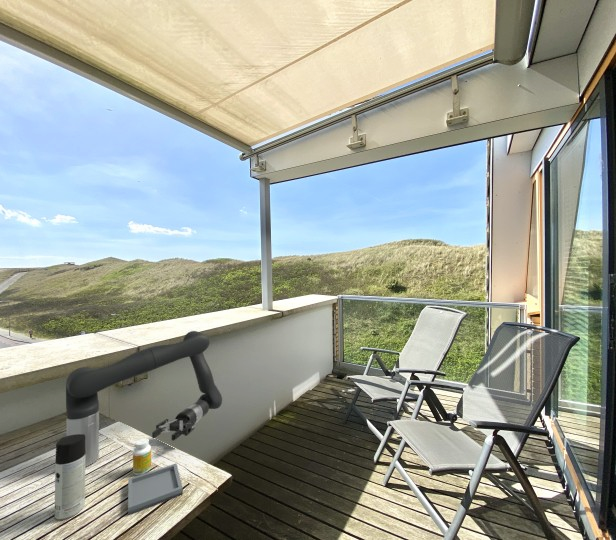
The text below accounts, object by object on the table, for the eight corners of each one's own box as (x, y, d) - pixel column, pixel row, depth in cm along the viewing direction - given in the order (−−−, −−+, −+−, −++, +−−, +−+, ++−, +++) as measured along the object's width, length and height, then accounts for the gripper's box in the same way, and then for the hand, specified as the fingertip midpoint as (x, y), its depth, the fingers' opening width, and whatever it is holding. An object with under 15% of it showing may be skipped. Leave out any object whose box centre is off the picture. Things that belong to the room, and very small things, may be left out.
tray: (128, 515, 80) (128, 508, 80) (128, 485, 92) (128, 478, 92) (182, 494, 87) (182, 487, 87) (176, 469, 99) (176, 463, 99)
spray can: (66, 502, 85) (66, 433, 86) (90, 500, 86) (91, 432, 86) (47, 521, 78) (48, 446, 79) (74, 519, 79) (74, 445, 79)
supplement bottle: (143, 476, 96) (142, 446, 96) (129, 474, 97) (129, 445, 97) (154, 466, 101) (154, 437, 101) (141, 464, 102) (141, 436, 102)
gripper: (175, 406, 126) (146, 425, 110) (204, 409, 123) (179, 428, 107) (175, 424, 126) (146, 444, 110) (204, 427, 123) (179, 449, 107)
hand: (162, 436), depth 109 cm, fingers open, 8 cm apart
